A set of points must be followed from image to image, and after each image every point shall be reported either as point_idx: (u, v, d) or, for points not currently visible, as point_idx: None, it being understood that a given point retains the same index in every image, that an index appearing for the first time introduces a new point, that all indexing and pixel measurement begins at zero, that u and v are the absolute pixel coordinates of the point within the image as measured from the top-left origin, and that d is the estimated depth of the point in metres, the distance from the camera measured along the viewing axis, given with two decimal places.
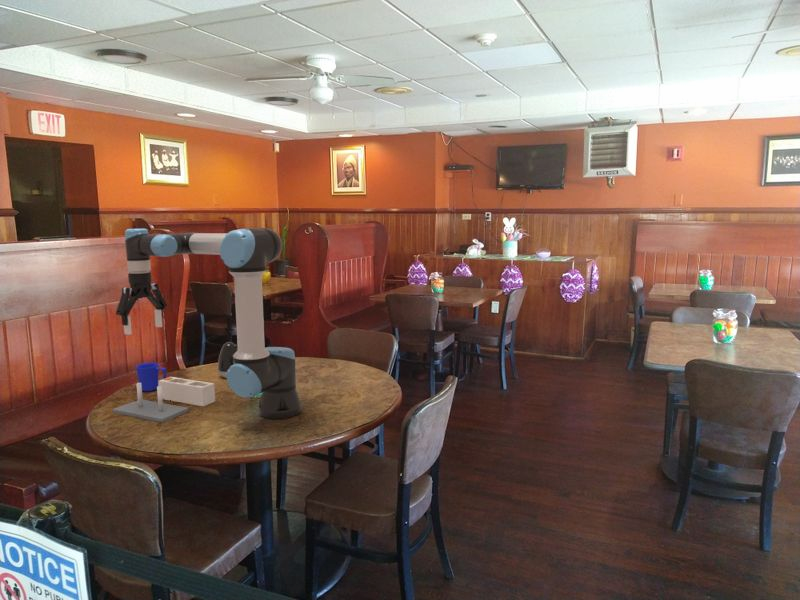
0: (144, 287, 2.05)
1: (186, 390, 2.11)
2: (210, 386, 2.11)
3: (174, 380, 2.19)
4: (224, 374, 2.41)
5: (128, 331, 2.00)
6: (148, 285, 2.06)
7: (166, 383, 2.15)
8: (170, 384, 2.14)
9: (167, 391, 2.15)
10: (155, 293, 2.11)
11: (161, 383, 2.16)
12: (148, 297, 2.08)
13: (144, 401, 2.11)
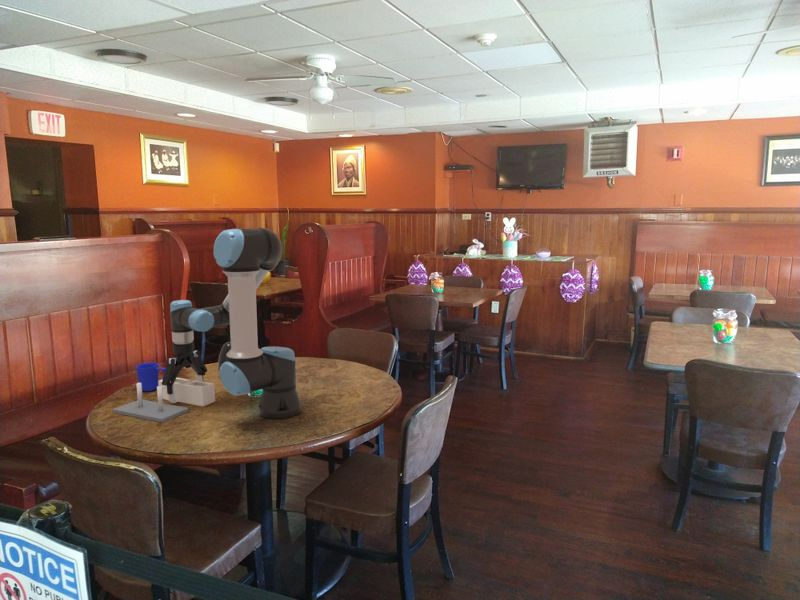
0: (187, 356, 2.13)
1: (186, 390, 2.11)
2: (210, 386, 2.11)
3: None
4: None
5: (173, 399, 2.09)
6: (191, 353, 2.15)
7: None
8: None
9: None
10: (196, 360, 2.20)
11: (161, 383, 2.16)
12: (190, 364, 2.17)
13: (144, 401, 2.11)
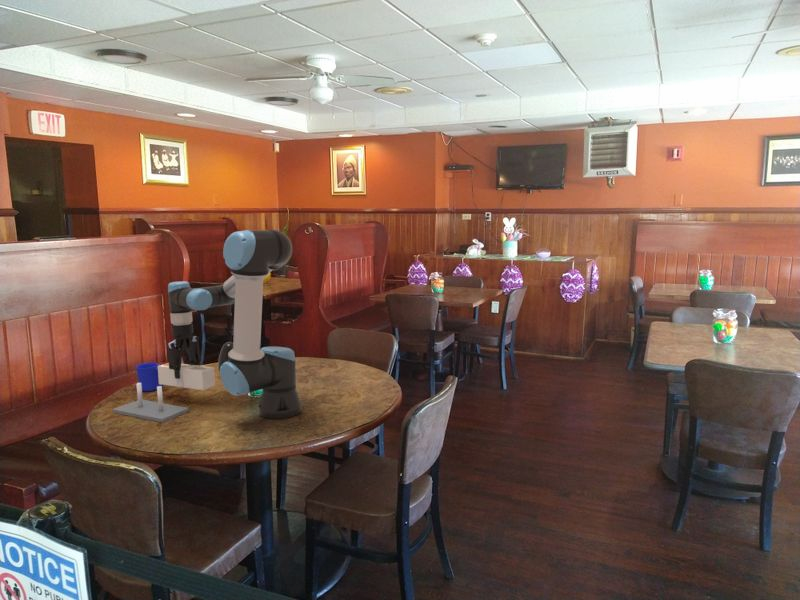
0: (187, 335, 2.12)
1: (186, 374, 2.10)
2: (209, 370, 2.10)
3: None
4: None
5: (180, 384, 2.11)
6: (190, 335, 2.14)
7: (165, 368, 2.14)
8: (169, 369, 2.13)
9: (167, 376, 2.14)
10: (194, 346, 2.17)
11: (161, 368, 2.15)
12: (187, 349, 2.14)
13: (144, 401, 2.11)
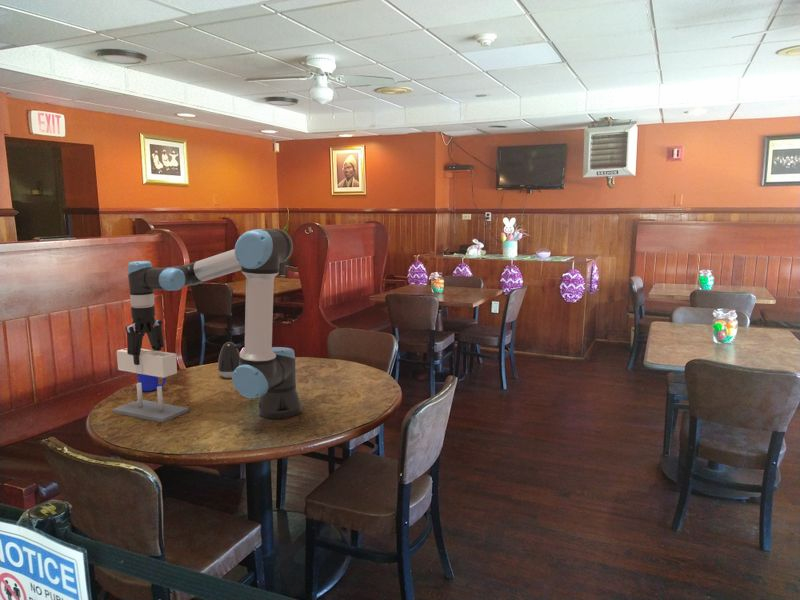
0: (148, 319, 1.98)
1: (145, 360, 1.96)
2: (171, 356, 1.96)
3: None
4: (224, 374, 2.41)
5: (140, 370, 1.97)
6: (152, 318, 2.00)
7: (125, 353, 2.00)
8: None
9: (126, 362, 2.01)
10: (156, 330, 2.03)
11: (120, 353, 2.01)
12: (148, 333, 2.01)
13: (144, 401, 2.11)
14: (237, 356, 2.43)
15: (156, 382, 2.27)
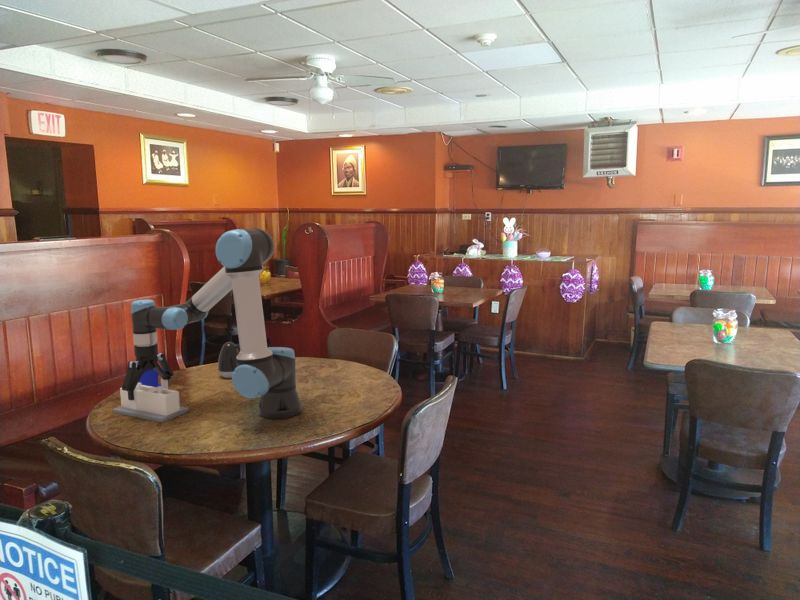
0: (150, 359, 2.00)
1: (148, 398, 1.98)
2: (174, 394, 1.98)
3: None
4: (224, 374, 2.41)
5: (134, 406, 1.96)
6: (154, 356, 2.02)
7: None
8: None
9: None
10: (161, 363, 2.07)
11: (123, 390, 2.03)
12: (154, 368, 2.04)
13: None
14: None
15: (156, 382, 2.27)
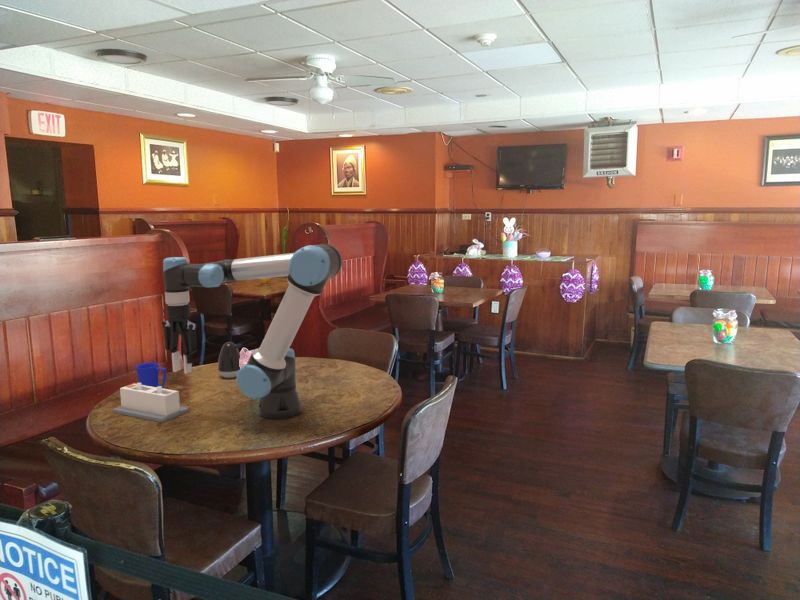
0: (178, 317, 1.89)
1: (148, 398, 1.98)
2: (174, 394, 1.98)
3: None
4: (224, 374, 2.41)
5: None
6: (182, 319, 1.89)
7: (128, 391, 2.02)
8: (132, 392, 2.01)
9: (129, 399, 2.03)
10: None
11: (123, 390, 2.03)
12: None
13: None
14: (237, 356, 2.43)
15: (156, 382, 2.27)
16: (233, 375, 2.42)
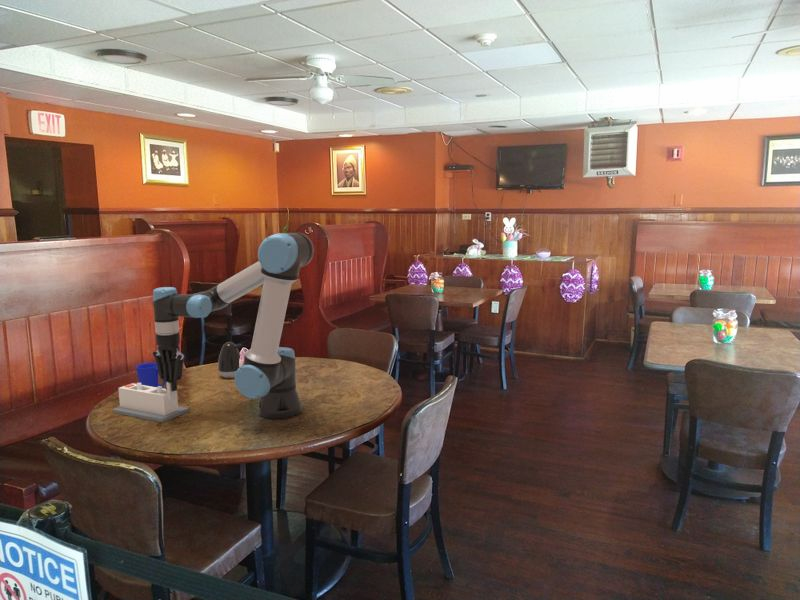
0: (168, 345, 1.93)
1: (147, 398, 1.99)
2: None
3: (136, 387, 2.06)
4: (224, 374, 2.41)
5: None
6: (172, 348, 1.93)
7: (126, 390, 2.03)
8: (130, 391, 2.02)
9: (127, 399, 2.03)
10: None
11: (122, 390, 2.04)
12: None
13: None
14: (237, 356, 2.43)
15: (156, 382, 2.27)
16: (233, 375, 2.42)
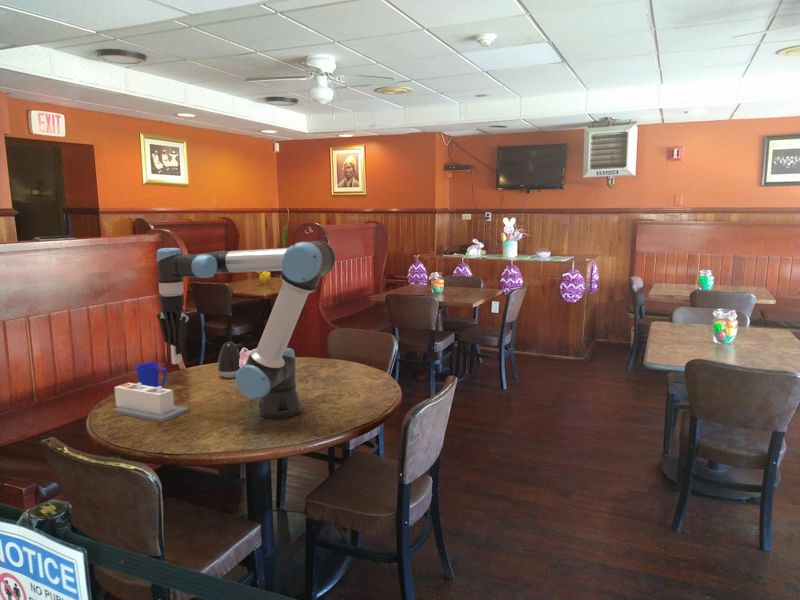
0: (173, 307, 1.90)
1: (143, 397, 2.00)
2: (168, 393, 2.00)
3: (132, 386, 2.07)
4: (224, 374, 2.41)
5: None
6: (177, 309, 1.89)
7: (122, 390, 2.03)
8: (126, 391, 2.03)
9: (124, 398, 2.04)
10: None
11: (118, 389, 2.04)
12: None
13: None
14: (237, 356, 2.43)
15: (156, 382, 2.27)
16: (233, 375, 2.42)
